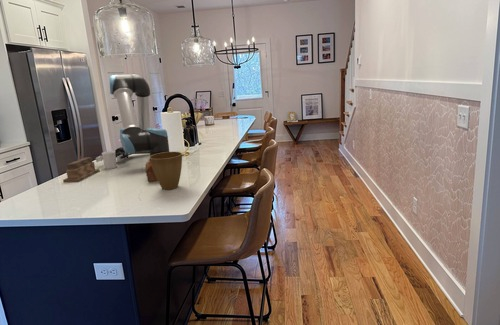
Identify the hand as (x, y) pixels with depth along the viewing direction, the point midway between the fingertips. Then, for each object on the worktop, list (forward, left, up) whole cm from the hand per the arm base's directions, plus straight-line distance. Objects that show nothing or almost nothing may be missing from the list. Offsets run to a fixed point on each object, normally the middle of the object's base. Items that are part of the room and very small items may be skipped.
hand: (107, 159), depth 206 cm
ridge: (-2, +18, -6) cm, 19 cm away
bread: (-48, +2, -6) cm, 49 cm away
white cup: (+2, -3, -6) cm, 7 cm away
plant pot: (-69, +13, -6) cm, 71 cm away
